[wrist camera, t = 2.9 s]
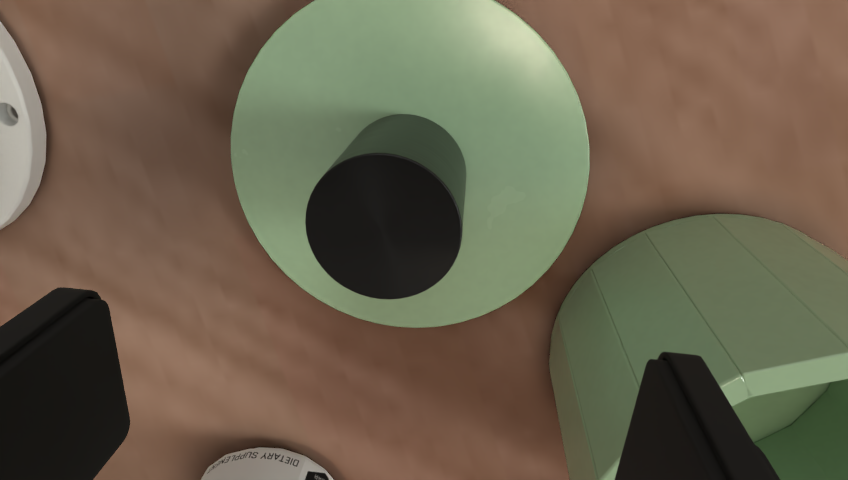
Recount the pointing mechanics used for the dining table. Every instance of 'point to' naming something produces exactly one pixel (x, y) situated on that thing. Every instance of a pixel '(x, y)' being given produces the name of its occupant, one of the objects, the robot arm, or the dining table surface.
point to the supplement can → (265, 466)
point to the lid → (410, 156)
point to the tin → (710, 339)
